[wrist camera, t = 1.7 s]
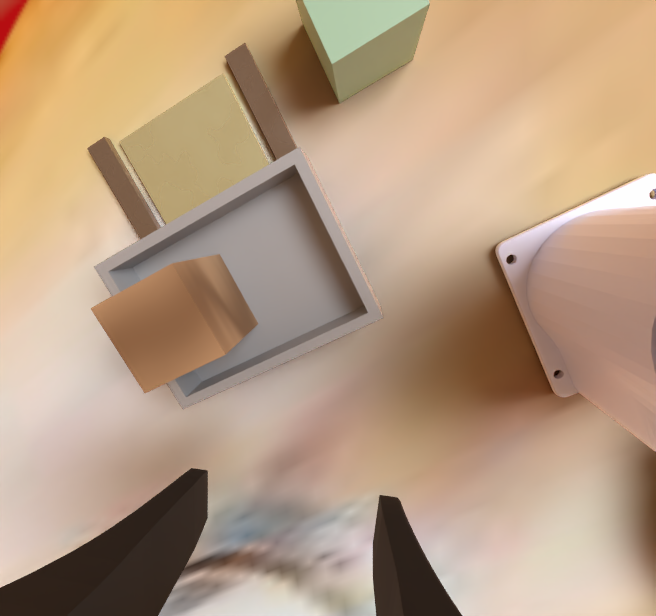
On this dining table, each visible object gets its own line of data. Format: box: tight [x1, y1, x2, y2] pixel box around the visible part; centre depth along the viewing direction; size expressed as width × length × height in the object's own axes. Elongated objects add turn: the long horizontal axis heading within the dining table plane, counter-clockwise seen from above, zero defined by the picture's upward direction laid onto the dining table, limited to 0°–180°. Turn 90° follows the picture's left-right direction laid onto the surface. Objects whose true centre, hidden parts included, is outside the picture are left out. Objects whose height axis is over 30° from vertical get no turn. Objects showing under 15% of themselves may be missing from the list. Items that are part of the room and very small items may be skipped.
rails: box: [87, 43, 297, 239], centre depth 20 cm, size 15×10×1 cm
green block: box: [296, 0, 430, 103], centre depth 15 cm, size 4×4×4 cm
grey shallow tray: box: [94, 147, 383, 409], centre depth 18 cm, size 8×11×4 cm
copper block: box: [91, 254, 258, 393], centre depth 16 cm, size 4×4×4 cm
